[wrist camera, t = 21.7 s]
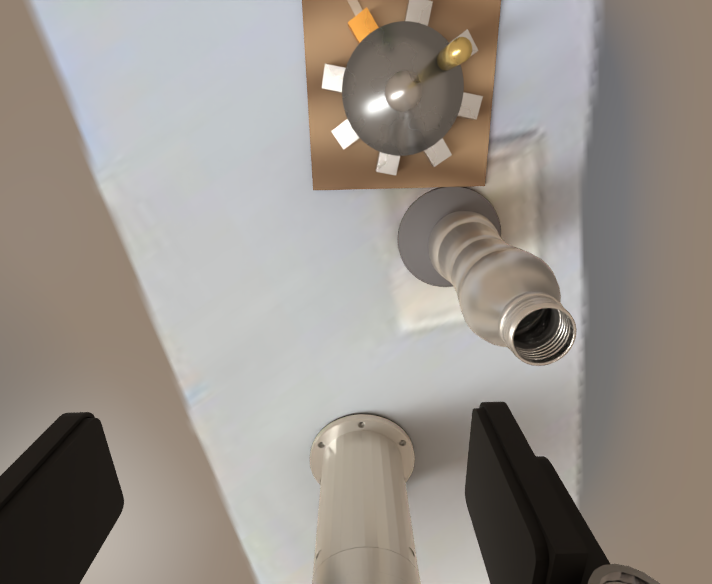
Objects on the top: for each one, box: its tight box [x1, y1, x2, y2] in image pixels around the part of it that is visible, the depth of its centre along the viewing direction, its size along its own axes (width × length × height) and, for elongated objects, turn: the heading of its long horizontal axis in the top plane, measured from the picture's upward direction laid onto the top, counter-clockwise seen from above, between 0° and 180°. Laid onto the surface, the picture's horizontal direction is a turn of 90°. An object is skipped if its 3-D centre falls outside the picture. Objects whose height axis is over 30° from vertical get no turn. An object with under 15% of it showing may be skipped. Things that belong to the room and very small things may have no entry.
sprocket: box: [322, 0, 483, 175], centre depth 33 cm, size 13×13×6 cm
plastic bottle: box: [429, 211, 576, 366], centre depth 32 cm, size 6×7×20 cm
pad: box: [398, 187, 501, 287], centre depth 42 cm, size 10×10×1 cm
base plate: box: [302, 0, 501, 190], centre depth 37 cm, size 16×16×1 cm
